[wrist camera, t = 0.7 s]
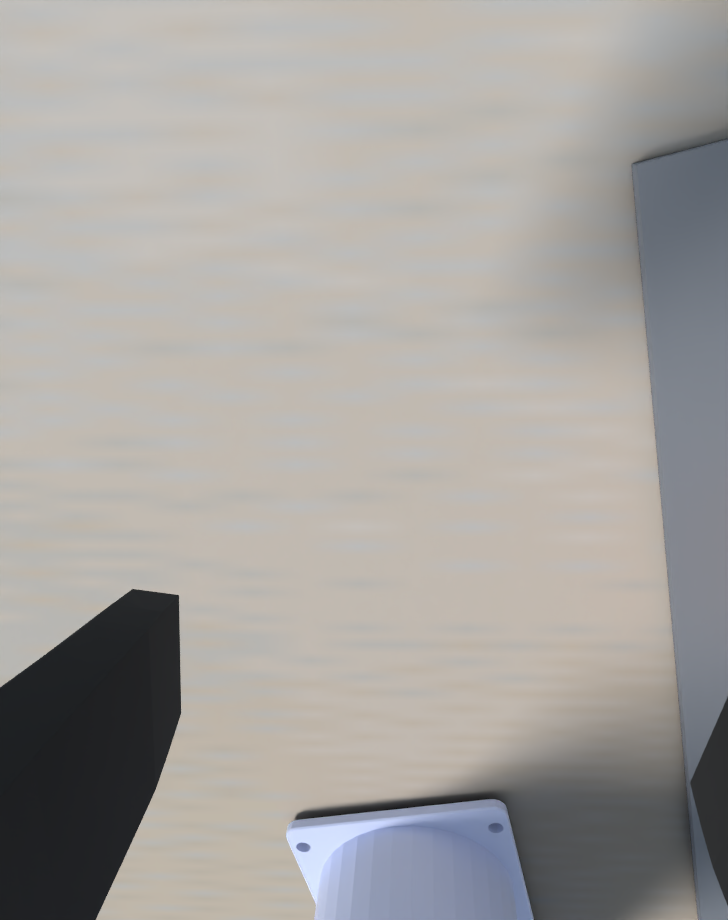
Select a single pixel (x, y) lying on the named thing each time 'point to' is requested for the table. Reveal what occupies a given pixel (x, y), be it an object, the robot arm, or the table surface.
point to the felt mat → (691, 436)
